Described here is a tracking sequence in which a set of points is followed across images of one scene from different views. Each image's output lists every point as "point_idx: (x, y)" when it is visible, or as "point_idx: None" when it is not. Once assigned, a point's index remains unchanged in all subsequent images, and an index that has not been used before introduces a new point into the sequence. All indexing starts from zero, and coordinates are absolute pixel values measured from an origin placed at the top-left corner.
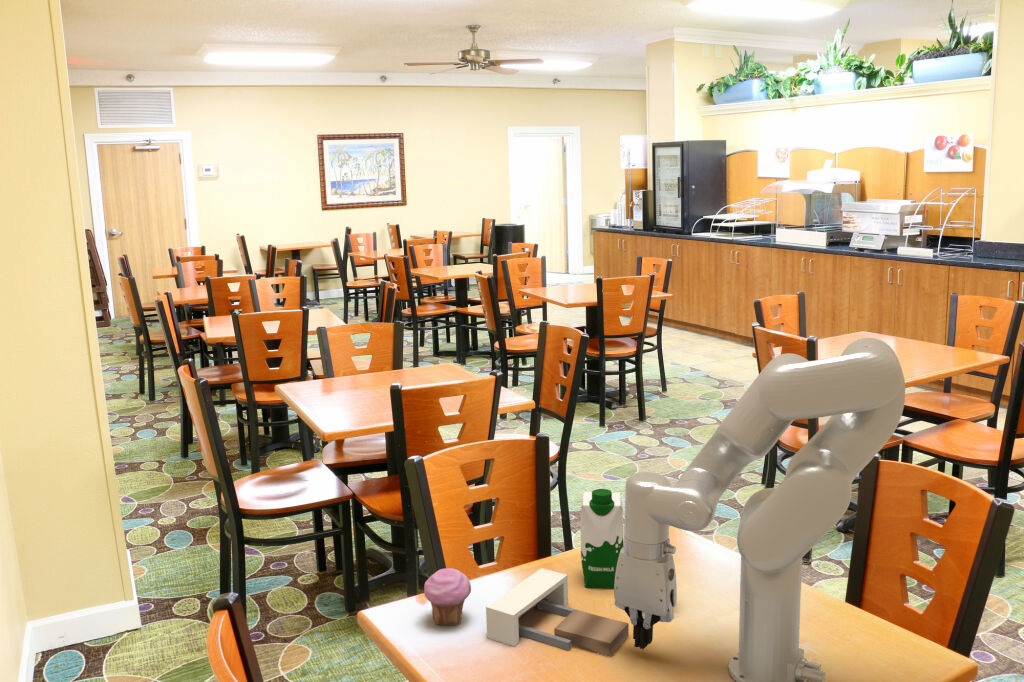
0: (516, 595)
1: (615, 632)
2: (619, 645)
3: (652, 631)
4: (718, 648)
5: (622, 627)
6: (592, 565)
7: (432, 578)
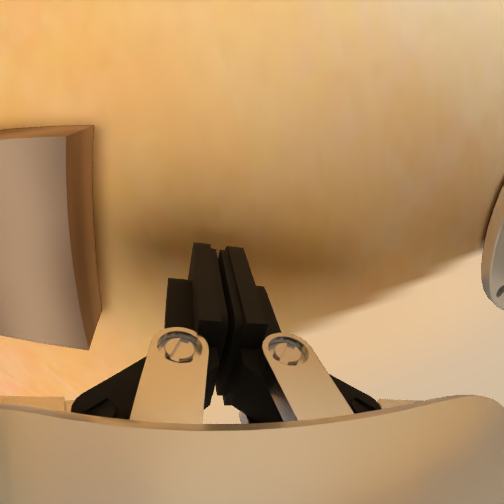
0: None
1: (54, 265)
2: (92, 234)
3: (274, 320)
4: (473, 113)
5: (57, 201)
6: None
7: None
